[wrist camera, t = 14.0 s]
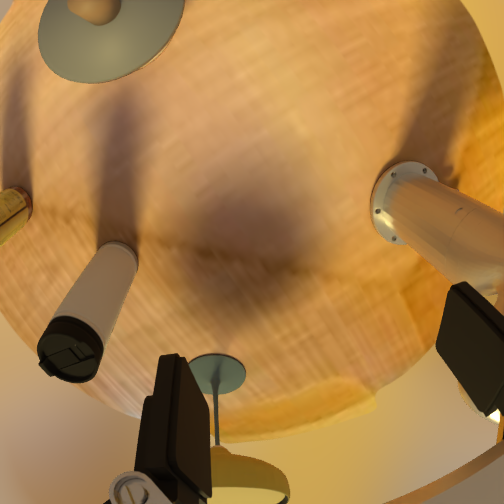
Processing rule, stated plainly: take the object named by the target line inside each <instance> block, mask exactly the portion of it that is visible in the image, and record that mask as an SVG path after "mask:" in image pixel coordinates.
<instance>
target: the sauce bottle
mask: <svg viewBox="0 0 504 504" xmlns="http://www.w3.org/2000/svg"><path fill="white" fill-rule="evenodd" d="M31 213H32V205H31V200H30V198H29V196H28V194H27V193H26V191H25V190H23V189H22V188H20V187H10V188H8V189H5V190H3V191H2V192H0V247H1V246H2V245H3V244H4V243H6V242H7V241H8V240H9V239H10V238H11V237H12V236H13V235H15V234H16V233H17V232H18V231H19V230H20V229H22V228H23V227H24V226H25V224H26V223H27V222H28V220H29V219H30V217H31Z"/></svg>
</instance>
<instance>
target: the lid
mask: <svg viewBox="0 0 504 504" xmlns="http://www.w3.org/2000/svg"><path fill="white" fill-rule="evenodd" d="M184 3H185V0H48V2H47V4H46V6H45V8H44V11H43V13H42V16H41V20H40V23H39V30H38V43H39V49H40V52H41V56H42V58H43V59H44V61H45V63H46V64H47V66H48V67H49V68H50V69H51V70H52V71H53V72H54V73H55V74H57V75H59V76H60V77H62V78H64V79H67V80H70V81H74V82H79V83H88V84H94V83H104V82H109V81H113V80H116V79H119V78H121V77H124V76H127V75H129V74H130V73H132V72H134V71H136V70H138V69H139V68H141V67H142V66H144V65H145V64H147V63H148V62H149V61H150V60H152V59H153V58H154V57H155V56H156V55H157V54H158V53H159V52H160V51H161V50H162V49H163V48H164V47H165V46H166V45H167V43H168V42H169V41H170V39H171V38H172V36H173V35H174V33H175V31H176V29H177V28H178V26H179V23H180V21H181V18H182V15H183V10H184Z"/></svg>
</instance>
